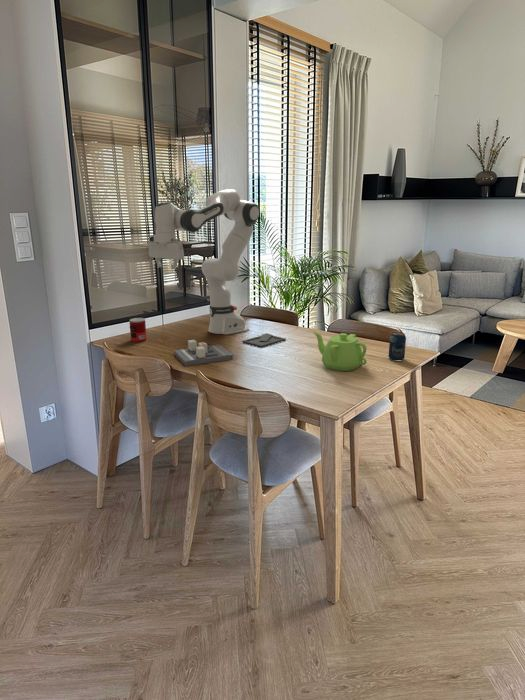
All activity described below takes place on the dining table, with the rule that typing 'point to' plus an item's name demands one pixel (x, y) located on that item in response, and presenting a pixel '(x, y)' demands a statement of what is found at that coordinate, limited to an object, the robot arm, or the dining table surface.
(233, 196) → the robot arm
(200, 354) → the breaker
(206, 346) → the breaker mid
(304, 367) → the dining table surface
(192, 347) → the block
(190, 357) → the panel
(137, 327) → the canned food
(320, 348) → the teapot
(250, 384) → the dining table surface
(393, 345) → the soda can
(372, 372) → the dining table surface
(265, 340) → the picture frame
